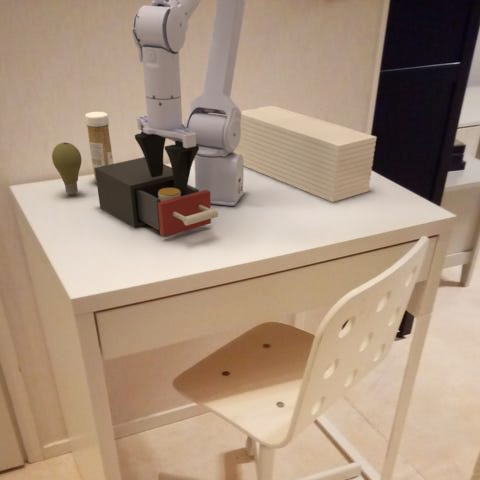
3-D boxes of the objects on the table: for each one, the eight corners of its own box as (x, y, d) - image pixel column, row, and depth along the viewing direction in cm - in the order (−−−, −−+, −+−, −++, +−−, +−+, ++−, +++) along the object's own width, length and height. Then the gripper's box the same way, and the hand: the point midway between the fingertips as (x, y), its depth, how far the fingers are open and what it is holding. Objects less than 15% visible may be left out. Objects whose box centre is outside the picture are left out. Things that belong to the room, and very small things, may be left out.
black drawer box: (185, 213, 117) (184, 172, 112) (134, 228, 111) (130, 185, 106) (150, 195, 124) (146, 156, 120) (100, 208, 119) (94, 167, 114)
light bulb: (92, 192, 125) (84, 141, 119) (75, 201, 121) (67, 148, 115) (70, 188, 127) (61, 137, 121) (53, 197, 123) (43, 144, 117)
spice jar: (120, 182, 130) (112, 113, 122) (102, 187, 128) (93, 117, 119) (107, 177, 133) (99, 109, 124) (90, 182, 130) (80, 113, 122)
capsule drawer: (227, 231, 108) (226, 198, 105) (179, 246, 103) (177, 212, 99) (174, 205, 118) (173, 174, 114) (128, 218, 113) (125, 186, 109)
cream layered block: (235, 162, 142) (235, 111, 135) (270, 154, 147) (272, 105, 140) (332, 202, 122) (338, 145, 116) (368, 191, 128) (376, 136, 121)
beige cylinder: (184, 212, 112) (183, 188, 109) (177, 220, 109) (176, 196, 106) (164, 210, 113) (162, 186, 110) (156, 218, 110) (154, 193, 107)
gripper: (118, 90, 100) (127, 175, 109) (168, 107, 92) (173, 197, 101) (154, 85, 104) (160, 167, 113) (205, 101, 95) (207, 189, 104)
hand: (168, 181), depth 107 cm, fingers open, 7 cm apart
